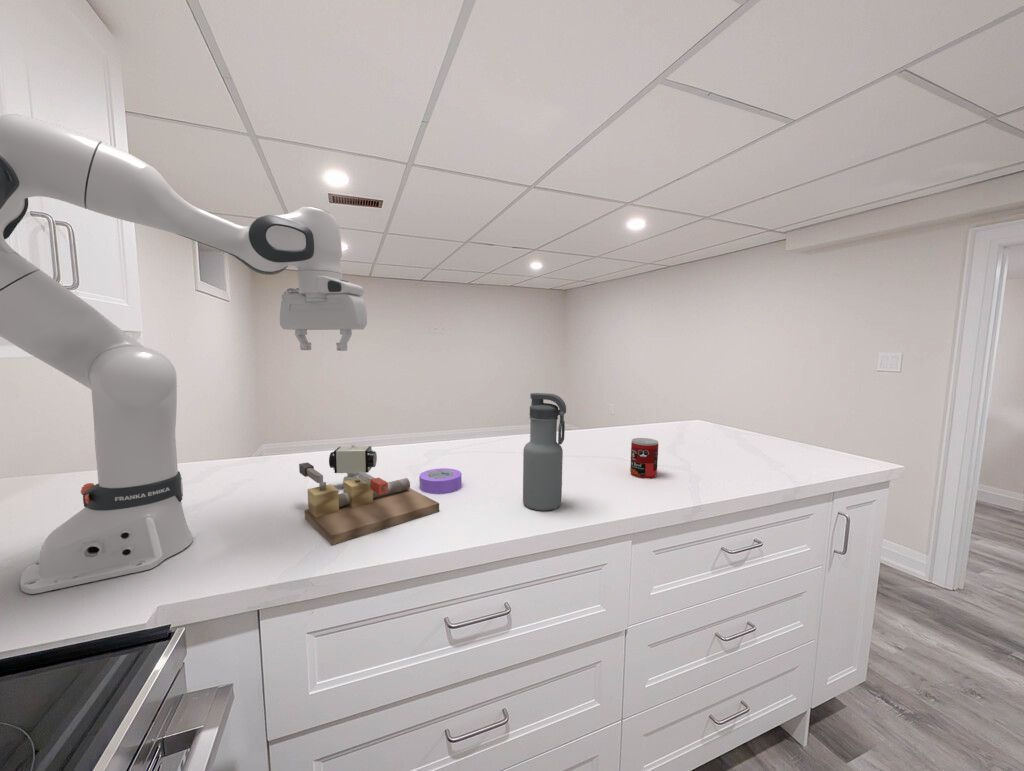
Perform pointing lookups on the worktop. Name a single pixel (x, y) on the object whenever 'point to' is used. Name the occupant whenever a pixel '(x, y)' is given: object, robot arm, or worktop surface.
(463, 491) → the worktop surface
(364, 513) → the pipe board
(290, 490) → the worktop surface
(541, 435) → the water bottle
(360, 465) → the pneumatic valve
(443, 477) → the masking tape
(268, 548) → the worktop surface
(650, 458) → the canned food
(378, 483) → the red lever
